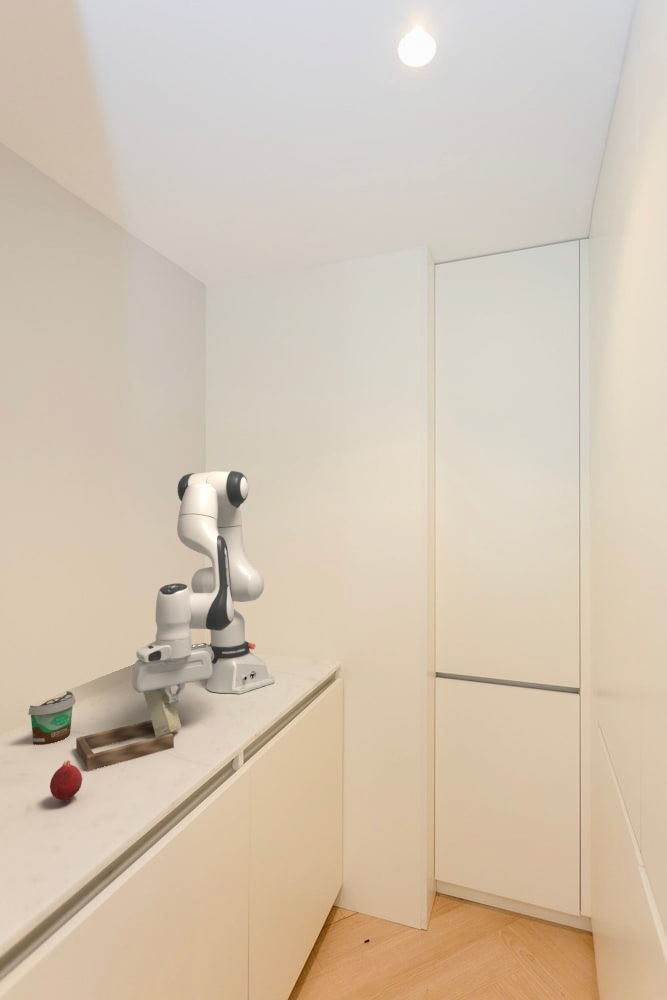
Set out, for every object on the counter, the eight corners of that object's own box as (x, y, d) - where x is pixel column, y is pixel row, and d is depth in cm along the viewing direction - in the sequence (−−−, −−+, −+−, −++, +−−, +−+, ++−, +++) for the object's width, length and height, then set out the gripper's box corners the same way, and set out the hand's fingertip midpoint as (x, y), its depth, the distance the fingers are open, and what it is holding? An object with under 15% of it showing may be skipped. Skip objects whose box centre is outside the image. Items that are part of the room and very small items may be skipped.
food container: (46, 750, 130) (46, 709, 131) (28, 746, 133) (28, 706, 133) (86, 730, 142) (86, 692, 142) (68, 727, 144) (68, 690, 144)
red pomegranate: (79, 806, 106) (79, 765, 106) (47, 811, 104) (46, 770, 104) (84, 791, 111) (84, 752, 111) (53, 796, 110) (53, 756, 110)
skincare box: (171, 732, 134) (157, 685, 137) (155, 738, 135) (142, 690, 137) (182, 726, 140) (169, 680, 143) (167, 732, 141) (154, 686, 143)
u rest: (156, 730, 142) (156, 718, 142) (173, 747, 131) (173, 735, 131) (76, 750, 130) (76, 738, 130) (88, 771, 120) (88, 757, 120)
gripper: (206, 639, 147) (206, 690, 147) (129, 651, 135) (130, 707, 134) (216, 644, 142) (216, 696, 142) (137, 657, 130) (137, 714, 129)
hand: (173, 702), depth 138 cm, fingers closed
